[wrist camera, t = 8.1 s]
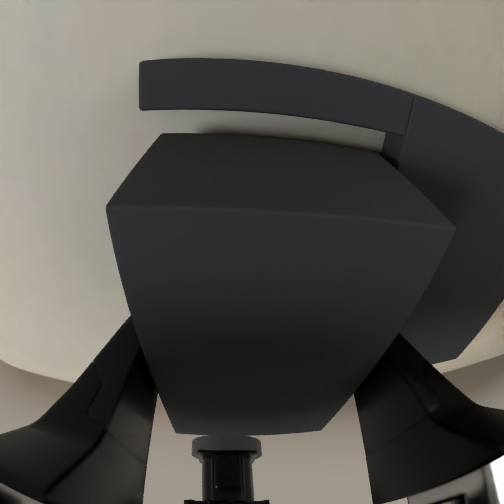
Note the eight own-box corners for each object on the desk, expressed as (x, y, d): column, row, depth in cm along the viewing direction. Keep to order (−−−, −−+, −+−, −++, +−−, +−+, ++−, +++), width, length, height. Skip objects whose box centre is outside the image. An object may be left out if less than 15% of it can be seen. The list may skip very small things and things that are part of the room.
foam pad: (307, 355, 14) (321, 430, 11) (181, 354, 13) (175, 433, 10) (377, 151, 8) (458, 228, 4) (160, 132, 7) (103, 206, 4)
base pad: (450, 345, 17) (456, 358, 16) (178, 362, 15) (176, 381, 14) (551, 163, 8) (566, 174, 7) (151, 60, 6) (138, 61, 5)
